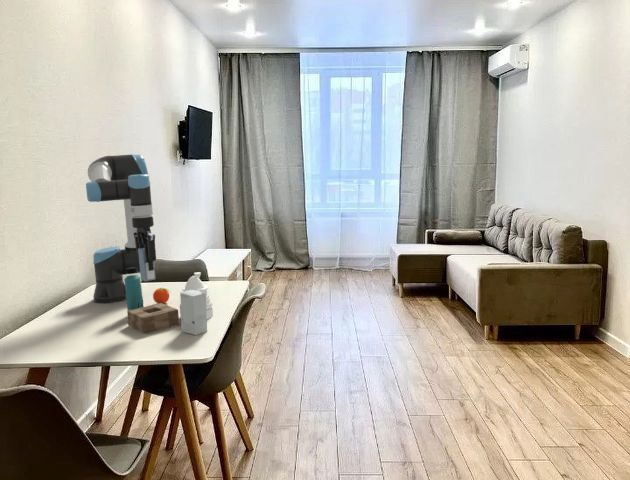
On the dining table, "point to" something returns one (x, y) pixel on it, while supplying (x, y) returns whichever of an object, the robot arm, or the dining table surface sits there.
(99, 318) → the dining table surface
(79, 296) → the dining table surface
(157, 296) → the red tomato
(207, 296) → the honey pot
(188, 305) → the skincare box
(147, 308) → the socket block
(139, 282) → the beverage bottle
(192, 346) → the dining table surface
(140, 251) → the peg
